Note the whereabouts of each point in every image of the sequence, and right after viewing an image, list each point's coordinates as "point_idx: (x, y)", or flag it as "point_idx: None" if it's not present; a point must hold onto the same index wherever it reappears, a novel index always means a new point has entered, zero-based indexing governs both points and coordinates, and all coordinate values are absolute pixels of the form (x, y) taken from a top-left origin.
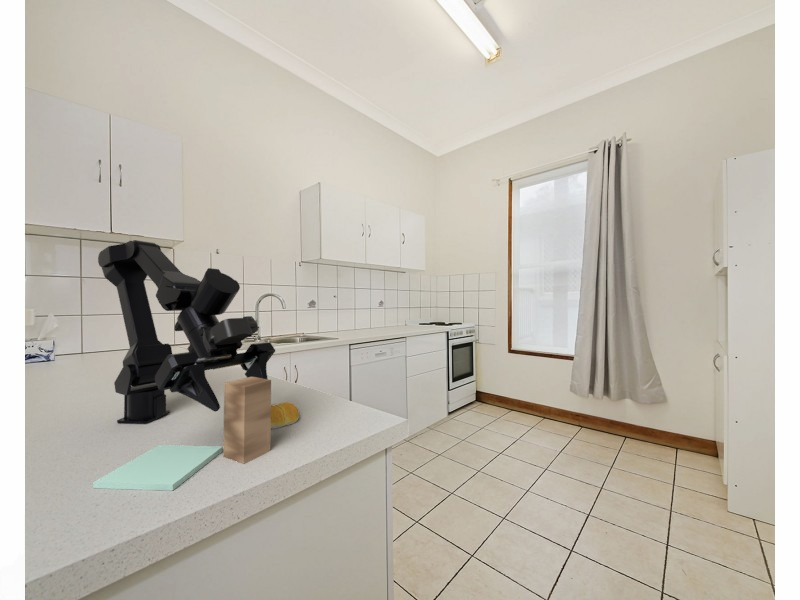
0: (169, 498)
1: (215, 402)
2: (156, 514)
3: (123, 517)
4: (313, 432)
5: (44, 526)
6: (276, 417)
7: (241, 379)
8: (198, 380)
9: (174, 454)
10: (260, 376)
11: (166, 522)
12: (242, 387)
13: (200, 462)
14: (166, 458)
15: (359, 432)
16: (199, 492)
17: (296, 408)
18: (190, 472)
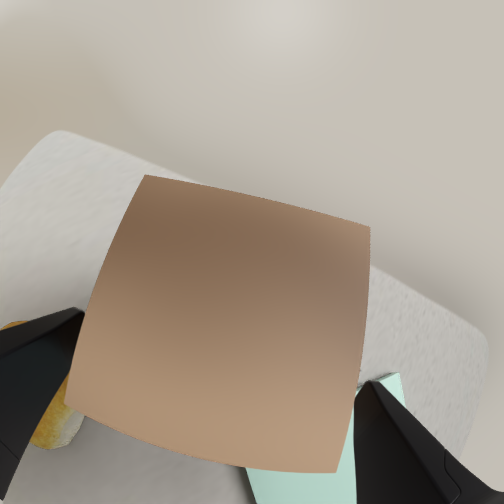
0: (405, 354)
1: (390, 396)
2: (429, 331)
3: (443, 367)
4: (84, 251)
5: (466, 430)
6: None
7: (181, 431)
8: (482, 488)
9: (307, 492)
10: (6, 371)
11: (431, 301)
12: (366, 252)
13: None
14: (327, 488)
15: (89, 163)
16: (380, 322)
17: (4, 327)
18: (356, 390)
